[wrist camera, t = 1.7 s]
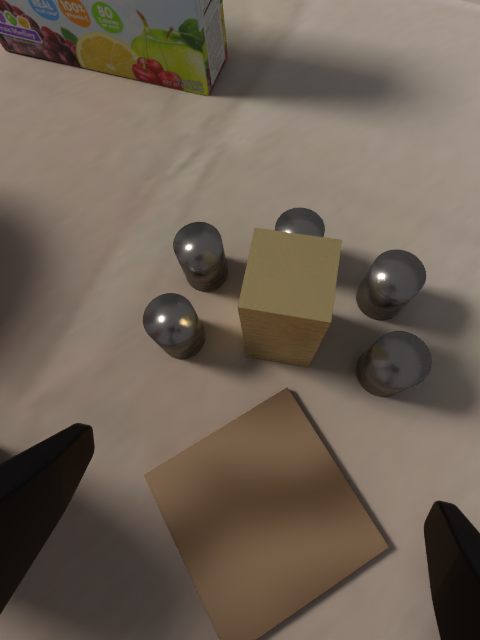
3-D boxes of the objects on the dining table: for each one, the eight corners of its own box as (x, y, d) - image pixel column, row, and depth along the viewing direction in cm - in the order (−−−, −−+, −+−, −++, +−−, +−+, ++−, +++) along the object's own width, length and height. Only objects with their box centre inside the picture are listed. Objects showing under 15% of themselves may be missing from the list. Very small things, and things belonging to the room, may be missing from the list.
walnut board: (386, 544, 21) (389, 547, 20) (229, 654, 20) (228, 658, 19) (286, 388, 24) (287, 387, 23) (146, 474, 23) (144, 475, 22)
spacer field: (403, 401, 23) (430, 391, 19) (156, 354, 25) (136, 337, 21) (412, 257, 26) (437, 225, 22) (191, 226, 28) (180, 191, 24)
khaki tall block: (308, 367, 24) (331, 322, 16) (247, 356, 25) (237, 307, 16) (316, 310, 25) (342, 239, 17) (258, 300, 26) (254, 227, 17)
